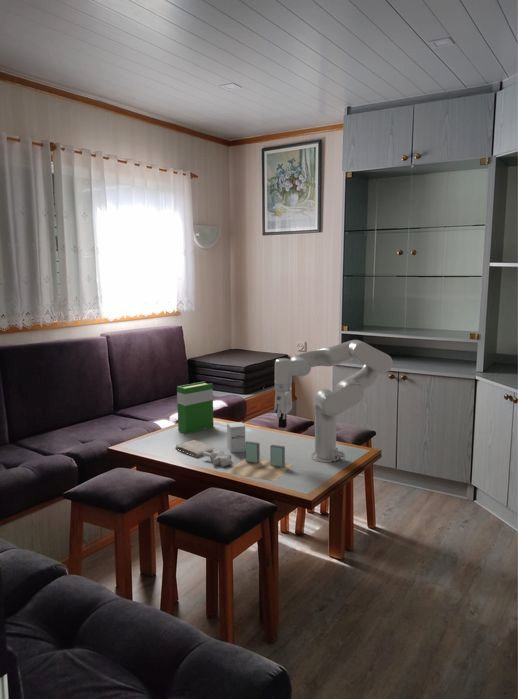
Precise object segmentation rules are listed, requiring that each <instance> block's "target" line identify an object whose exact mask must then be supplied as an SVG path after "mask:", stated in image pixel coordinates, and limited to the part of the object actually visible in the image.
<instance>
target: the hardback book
mask: <svg viewBox="0 0 518 699" xmlns="http://www.w3.org/2000/svg"><path fill="white" fill-rule="evenodd" d="M213 388H214V386H213V383H207V382H206V381H200V382H193V383H190V384H189V383H188V384H183V385H177V386H176V399H177V400H176V401H177V427H178V428H177V430H178V432H180V433H183V434H191V433H194V432H200V431H202V430H206V429H210V428H214V396H213V395H214V392H213V391H214V390H213Z"/></svg>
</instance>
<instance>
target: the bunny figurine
mask: <svg viewBox="0 0 518 699" xmlns="http://www.w3.org/2000/svg"><path fill="white" fill-rule="evenodd" d="M212 451H213V452H212V453H208V452H203V454H202V455H203V456H202V457H208V458H209V459H210V461H211V463H212V465H215V466H220V467H223V468H224V467H229V466H232V465H233V461H232V455H231V454H227V453H225V452H224V450H221V449H218V450H217V448H215V449H213V450H212Z"/></svg>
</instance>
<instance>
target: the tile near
mask: <svg viewBox="0 0 518 699" xmlns="http://www.w3.org/2000/svg"><path fill="white" fill-rule="evenodd" d="M269 449H270V461H271V466H277V467H284V466H285V463H286V447H285V446H284V445H280V444H271V445H270V448H269Z"/></svg>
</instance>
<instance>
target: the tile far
mask: <svg viewBox="0 0 518 699" xmlns="http://www.w3.org/2000/svg"><path fill="white" fill-rule="evenodd" d="M260 448H261V447H260V442H255V441H250V440H246V441H245V457H246V462H251V463H259V462H260V460H261V459H260V458H261V457H260V456H261V455H260V454H261V453H260Z"/></svg>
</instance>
